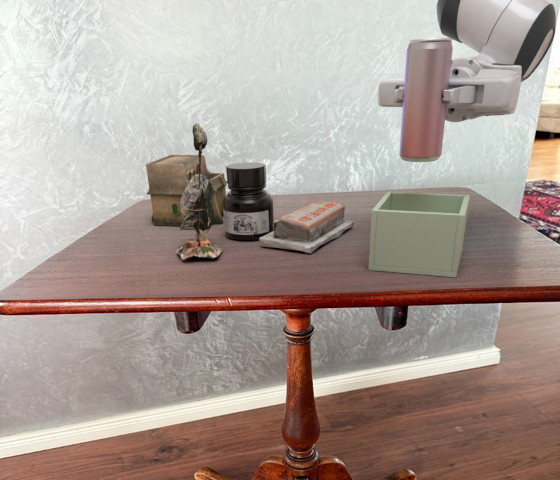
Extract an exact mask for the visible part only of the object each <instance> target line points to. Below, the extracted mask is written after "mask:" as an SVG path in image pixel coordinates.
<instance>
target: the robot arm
mask: <svg viewBox="0 0 560 480" xmlns="http://www.w3.org/2000/svg"><path fill="white" fill-rule="evenodd" d="M556 15H557V14H556V9H555V6H554V4H553V3H551V2H549V1H548V0H437V3H436V18H437V22H438V27H439V30H440V33H441V34H442V36H445V37H446V38H452V41H453V40H454V41H455V42H457V43H460V44H464V45H465V46H467V47H469V48H470V49H472V50H473V51H475V52H477V53H478V54H477V55H476V56H465V57H463V56H462V57H457V58H453V59H451V69H450V78H449V88H448V89H444V92H443V95H444V97H443V103H445V104H447V107H446V116H445V121H447V122H449V123H460V122H464V121H468V120H475V119H478V118H481V117H491V116H505V115H508V116H509V115H513V114H514V113H515V112H516V109H517V104H518V100H519V97H520V91H521V86H522V85H521V84H522V82H524V81H526V80H528V79H529V78H531V76H532V74H533V73H534V72H535V71H536V69H537V68H538V67H539V66H540V64H541V63H542V62H543V60H544V58H545V57H546V55H547V53H548V51H549V50H550V47H551V46H552V43H553V41H554V39H555V35H556V26H557V25H556V24H557V17H556ZM404 81H405V78H393V79H383V80H380V81H379V83H378V85H377V86H378V87H377V104H378V106H379V107H382V108H403V96H404Z"/></svg>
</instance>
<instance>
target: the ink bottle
mask: <svg viewBox="0 0 560 480" xmlns="http://www.w3.org/2000/svg"><path fill="white" fill-rule="evenodd" d="M225 171H226V181H227V189H228V190H229V191H228V192H227V194H226V196H225V197H224V199H223V213H224V216H223V225H224V231H225V236H226V237H227V238H229V239H232V240H238V241H258V240H259V238H260V237H263V236H264V235H267V234H268V233H270V232H273V231H274V230H273V223H274V220H275V219H274V200H273V199H274V198H273V195H271V194H270V193H269V192H268V191H267V189H265V188H266V187H267V167H266V163H262V162H257V161H256V162H255V161H251V162H250V161H249V162H248V161H244V162H236V163H230V164H227V165H226V166H225Z"/></svg>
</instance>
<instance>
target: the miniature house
mask: <svg viewBox="0 0 560 480" xmlns="http://www.w3.org/2000/svg"><path fill="white" fill-rule="evenodd" d="M200 168H201V172H200V173H201V174H203V175H205V176H207V177H208V179H209V181H210V183H211V189H212V207H213V211H214V212H213V214H214V218H213V223H212V226H213V225H224V213H223V199H224V197H225V196H226V195H227V190H226V187H227V186H228V184H227V179H226V178H225V172H211V171H210V170H209V169H208V166H207V161H206V156H205V155H204V154H201V167H200ZM145 169H146V175H147V182H148V191H147V192H146V195H150V203H151V211H152V216H151V218H150V219H151V222H152V223H153V226H158V227H159V226H161V227H179V230H193V231H196V229H195V228H193V227H191V226H189V225H188V224H187V223H186V222H185V221H184V218H183V216H182V213H181V204H180V202H181V197H182V195H183V192H184V191H185V189H186V187H187V185H188V182H189V181H190V180H191V179H192V177H193V176H195V175H196V174H199V157H198V154H168V155H166V156H163V157H161V158H158V159H155V160H153V161H150V162H148V163H145ZM208 173H209V174H208Z"/></svg>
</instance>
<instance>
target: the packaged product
mask: <svg viewBox="0 0 560 480" xmlns="http://www.w3.org/2000/svg"><path fill="white" fill-rule="evenodd" d="M345 209H346V206H345V204H343V203H341V202H339V201H330V200H315V201H312V202H309V203H308V204H305V205H303V206H301V207H299V208H297V209H295V210H292V211H290V212H289V213H286V214H284V215H282V216H280V217H278V218H276V219H274V223H273V230H274V231H273V232H270V233H268V234H267V235H264V236H263V237H260V238H259V239H258V240H259V244H260V247H264V248H277V249H283V250H290V251H297V252H304V253H307V254H312V253H313V252H314V251H315V250H317V249H318V248H319V247H321V246H323V245H325V244H326V243H329V242H331V241H332V240H334V239H338V238H340V237H341V236H342V234H343V233H344V232H345V231H347V230H349V229H350V228H352V227H354V225H355V223H356V222H355V220H347V219H344V218H345V211H346V210H345Z"/></svg>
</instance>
